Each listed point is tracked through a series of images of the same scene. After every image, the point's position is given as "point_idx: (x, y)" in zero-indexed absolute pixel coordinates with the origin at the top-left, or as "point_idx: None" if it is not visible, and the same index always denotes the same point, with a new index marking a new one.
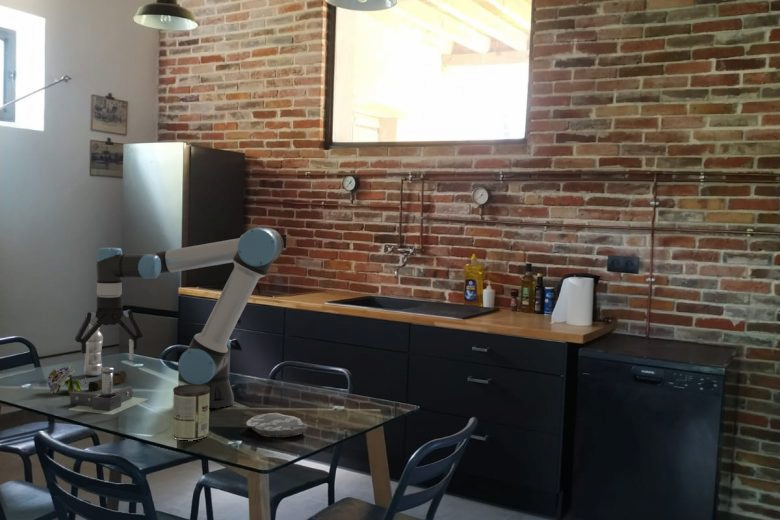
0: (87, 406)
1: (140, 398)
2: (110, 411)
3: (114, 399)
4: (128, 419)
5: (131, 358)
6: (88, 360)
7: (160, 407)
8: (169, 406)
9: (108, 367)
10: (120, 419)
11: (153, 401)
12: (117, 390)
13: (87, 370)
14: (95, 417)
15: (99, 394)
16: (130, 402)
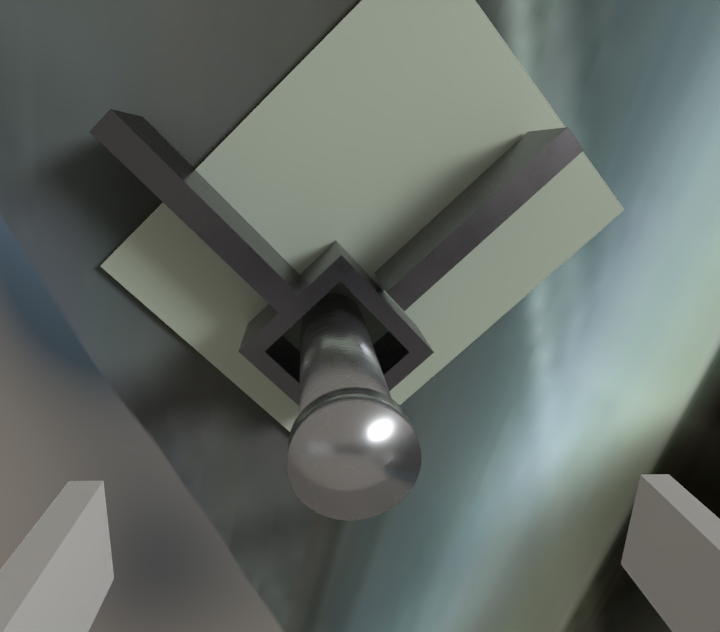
0: None
1: (585, 174)
2: None
3: None
4: (384, 538)
5: (640, 581)
6: (89, 618)
7: (603, 389)
8: (651, 387)
9: (373, 433)
10: (350, 526)
11: (629, 245)
12: (440, 243)
13: None
14: (242, 452)
15: (296, 294)
16: (494, 252)
